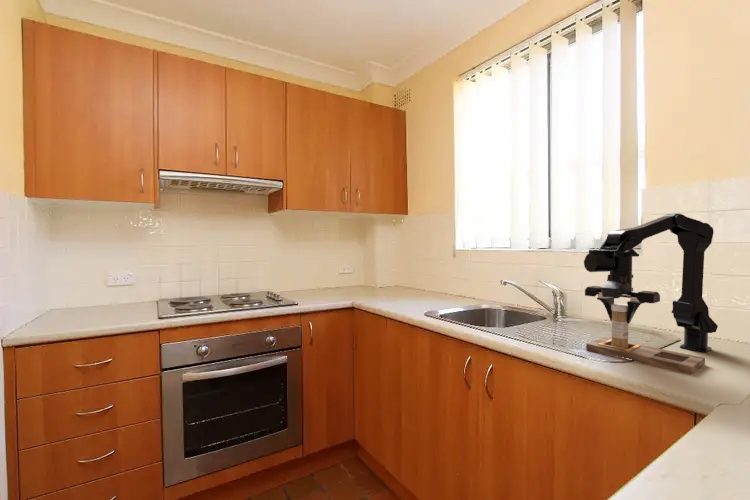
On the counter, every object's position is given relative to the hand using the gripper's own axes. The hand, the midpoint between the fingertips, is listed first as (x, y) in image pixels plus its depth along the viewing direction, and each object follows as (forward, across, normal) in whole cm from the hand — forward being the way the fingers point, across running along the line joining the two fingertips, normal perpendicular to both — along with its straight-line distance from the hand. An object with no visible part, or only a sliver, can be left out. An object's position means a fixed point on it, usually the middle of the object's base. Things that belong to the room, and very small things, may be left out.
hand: (619, 321), depth 115 cm
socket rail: (+9, +6, 0) cm, 11 cm away
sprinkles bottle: (+8, 0, 0) cm, 8 cm away
